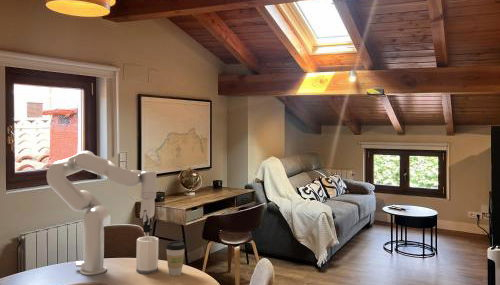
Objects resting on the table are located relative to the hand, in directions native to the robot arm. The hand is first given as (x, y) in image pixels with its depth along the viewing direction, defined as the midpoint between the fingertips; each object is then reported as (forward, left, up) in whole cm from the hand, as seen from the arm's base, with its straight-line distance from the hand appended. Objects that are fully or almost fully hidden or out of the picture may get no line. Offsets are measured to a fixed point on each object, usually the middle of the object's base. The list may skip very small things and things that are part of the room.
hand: (147, 230), depth 211 cm
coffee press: (0, 0, -20) cm, 20 cm away
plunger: (0, 0, -14) cm, 14 cm away
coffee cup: (+15, -3, -20) cm, 25 cm away
